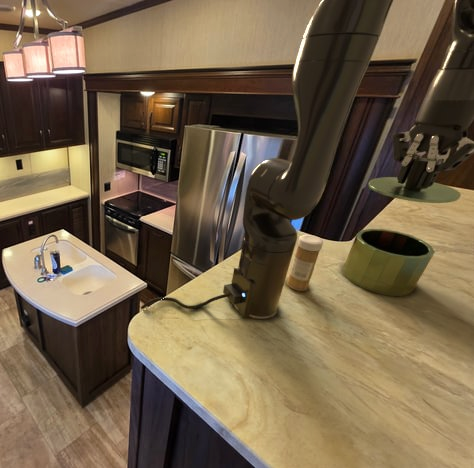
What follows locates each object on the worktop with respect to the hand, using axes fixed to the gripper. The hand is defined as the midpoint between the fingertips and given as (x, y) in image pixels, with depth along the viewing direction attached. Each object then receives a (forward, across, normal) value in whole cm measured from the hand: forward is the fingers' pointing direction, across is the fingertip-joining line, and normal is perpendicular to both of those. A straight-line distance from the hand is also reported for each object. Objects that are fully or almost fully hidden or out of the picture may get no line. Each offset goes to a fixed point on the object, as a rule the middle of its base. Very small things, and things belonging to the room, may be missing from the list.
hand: (412, 185), depth 61 cm
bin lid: (+1, 0, 0) cm, 1 cm away
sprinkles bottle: (+24, -2, -20) cm, 31 cm away
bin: (+24, +1, 0) cm, 24 cm away
